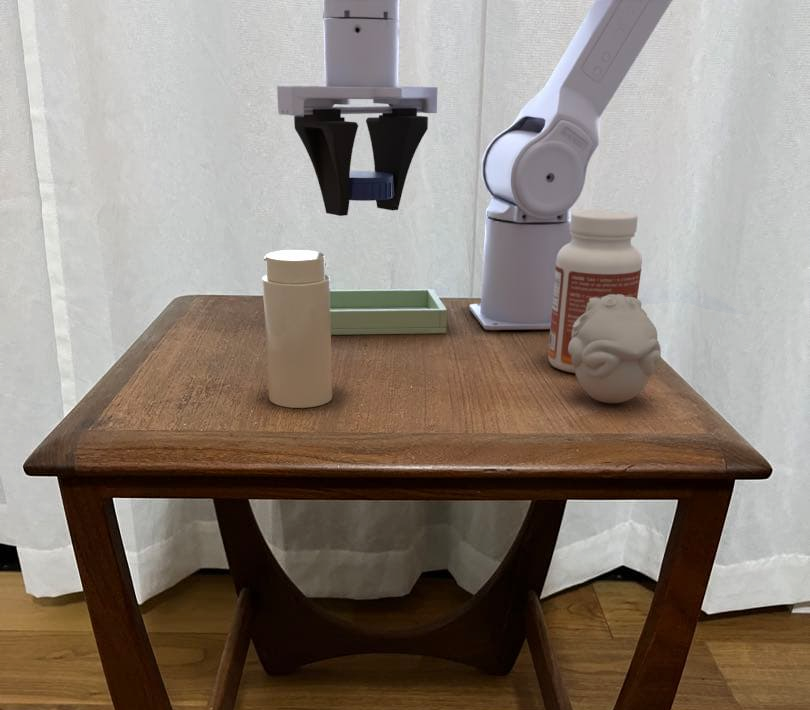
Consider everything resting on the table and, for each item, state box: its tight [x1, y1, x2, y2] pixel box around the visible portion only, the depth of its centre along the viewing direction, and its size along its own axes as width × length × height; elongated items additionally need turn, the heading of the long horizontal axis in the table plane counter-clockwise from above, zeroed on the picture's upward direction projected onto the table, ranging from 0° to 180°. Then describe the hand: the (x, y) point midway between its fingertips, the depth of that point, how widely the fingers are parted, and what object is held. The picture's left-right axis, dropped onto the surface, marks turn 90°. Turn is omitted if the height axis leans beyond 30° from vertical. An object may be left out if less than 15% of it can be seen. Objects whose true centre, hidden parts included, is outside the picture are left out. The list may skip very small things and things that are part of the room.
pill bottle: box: [547, 209, 643, 374], centre depth 65 cm, size 6×6×11 cm
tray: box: [330, 288, 448, 336], centre depth 77 cm, size 13×8×2 cm, turn 97°
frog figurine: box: [568, 294, 662, 404], centre depth 59 cm, size 6×7×7 cm
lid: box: [349, 170, 394, 202], centre depth 71 cm, size 5×5×2 cm
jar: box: [261, 249, 333, 409], centre depth 57 cm, size 4×4×9 cm
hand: (362, 211), depth 72 cm, fingers closed on lid, 5 cm apart
